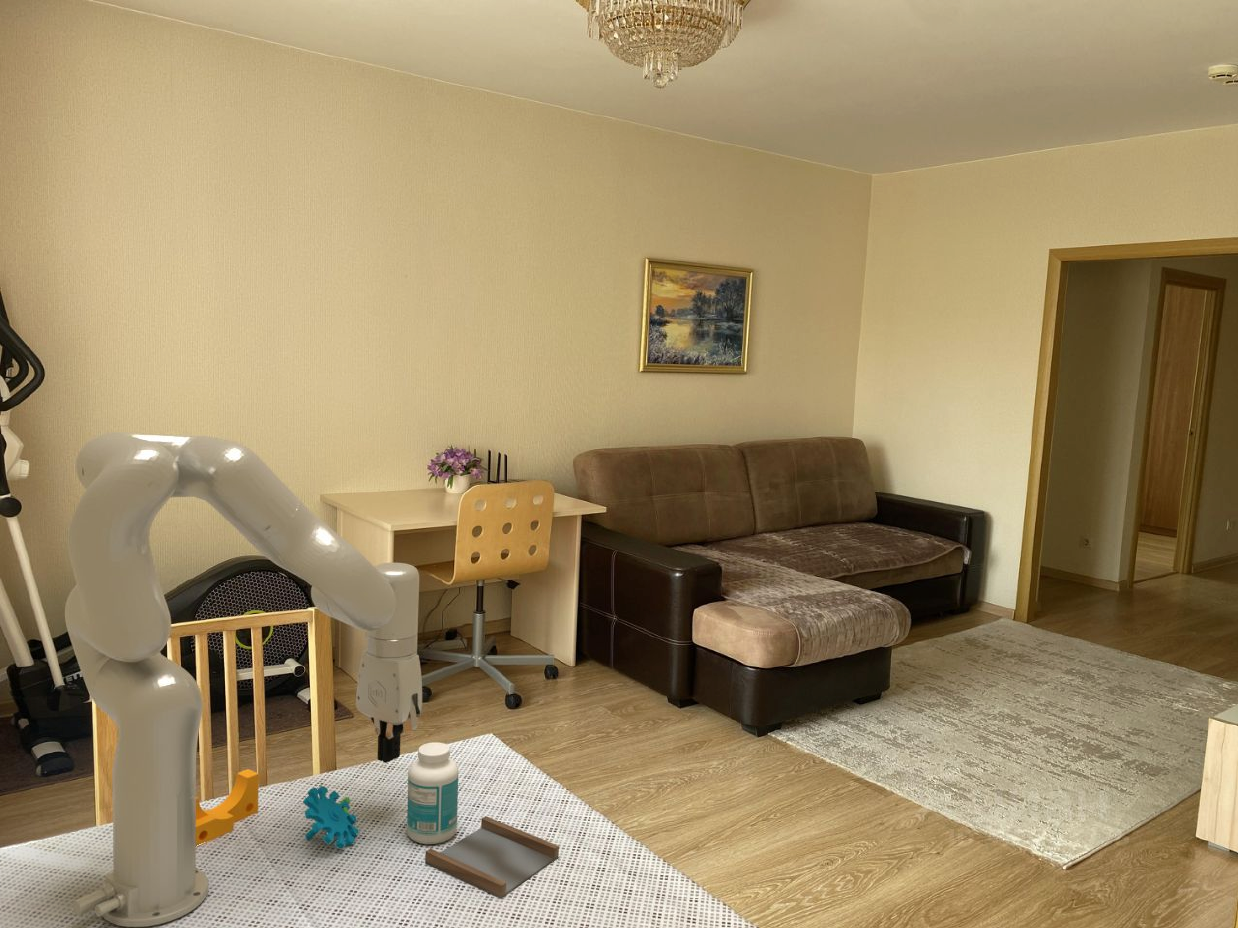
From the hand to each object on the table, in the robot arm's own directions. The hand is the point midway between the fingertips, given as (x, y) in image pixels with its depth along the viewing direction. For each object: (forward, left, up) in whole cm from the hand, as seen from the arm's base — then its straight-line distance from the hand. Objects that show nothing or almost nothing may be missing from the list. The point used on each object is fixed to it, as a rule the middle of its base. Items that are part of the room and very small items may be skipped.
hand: (388, 758), depth 145 cm
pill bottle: (0, -9, -9) cm, 13 cm away
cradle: (0, -21, -9) cm, 23 cm away
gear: (-10, +1, -9) cm, 14 cm away
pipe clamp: (-18, +16, -10) cm, 26 cm away
